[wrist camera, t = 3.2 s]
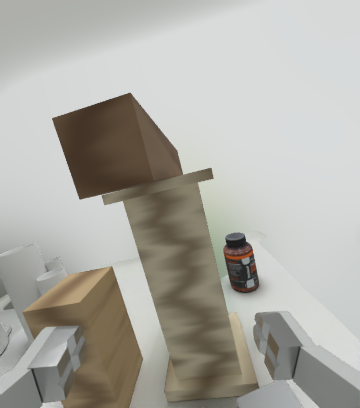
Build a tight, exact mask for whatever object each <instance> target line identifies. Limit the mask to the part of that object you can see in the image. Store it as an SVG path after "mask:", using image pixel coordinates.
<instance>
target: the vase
mask: <svg viewBox="0 0 360 408" xmlns="http://www.w3.org/2000/svg"><path fill="white" fill-rule="evenodd" d="M67 276H68V274H67V271H66V268H64V267H63V264H62V262H61V259H60V257H56V258H53V259H50V260H48V261H46V262H44V260H43V257H42V255H41V252H40V250H39V247H38V244H37V243H30V244H27V245H23V246H20V247H17V248H14V249H11V250H9V251H6V252H4V253H1V254H0V277H1V279H2V281H3V283H4V286H5V288H6V290H7V292H8V295H9V297H10V299H11V301H12V304H13V306H14V308H15V310H16V313H17V315H18V317H19V319H20V322H21V324H22V326H23V329H24V331H25V333H26V335H27V338H28V340H29V342H30V344H32V343H33V341H34V338H33V336H32V334H31V331H30V329H29V327H28V324H27V322H26V320H25V318H24V315H23V313H22V312H23V311H24V310H25V309H27V308H28V307H29V306H30V305H32V304H33V303H34V302H35V301H37V300H38V299H39V298H40V297H42V296H43V295H44V294H45V293H47V292H48V291H49V290H50V289H52V288H53V287H54V286H55V285H57V284H58V283H59V282H60V281H62V280H63V279H64V278H65V277H67Z"/></svg>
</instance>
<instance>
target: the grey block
mask: <svg viewBox="0 0 360 408" xmlns="http://www.w3.org/2000/svg"><path fill="white" fill-rule="evenodd" d="M236 401H237V405H238V408H304V407H303V406H302V404H301V403H300V402H299V400H298V399H297V397H296V396H295V394H294V393H293V391H292V390H291V388H290V387H289V385H288V384H287V383H286V381H285V380H277V381H275V382H273V383H270V384H268V385H266V386H264V387H261V388H259V389H257V390H255V391H252V392H250V393H248V394H246V395H244V396H241V397H239V398H237V399H236Z"/></svg>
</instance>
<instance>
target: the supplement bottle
mask: <svg viewBox="0 0 360 408" xmlns="http://www.w3.org/2000/svg"><path fill="white" fill-rule="evenodd" d="M225 239H226V243H227V244H226V245H225V246H224V256H225V261H226V265H227V270H228V275H229V279H230V283H231V285H232V287H233V288H234V289H236V290H238V291H242V292H248V291H252V290H254V289H256V288H257V286H258V284H259V281H258V275H257V269H256V265H255V259H254V254H253V249H252V246H251V245H250V244H249V243H248V242H246V239H245V235H244V234H243V233H232V234H228V235H227V236H226V238H225Z"/></svg>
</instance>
